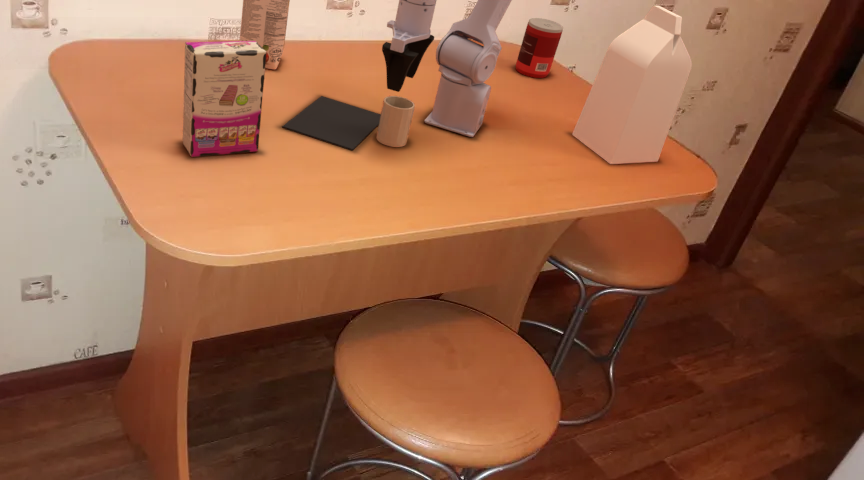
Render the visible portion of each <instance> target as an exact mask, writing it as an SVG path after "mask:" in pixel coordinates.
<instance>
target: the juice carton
mask: <svg viewBox="0 0 864 480" xmlns="http://www.w3.org/2000/svg"><path fill="white" fill-rule="evenodd" d="M290 1H291V0H242V10H241V21H240V34H239V41H256V42H257V43H258V44H259V45H260V46H261V47H262V48H263V49H264V50H265V51H266V64H265V69H269V70H277V69H278V66H279V65H280V62H281V59H282V57H283V53H284V51H285V50H284V49H285V45H286V44H285V43H286V35H287V28H288V27H287V26H288V19H289V10H290Z"/></svg>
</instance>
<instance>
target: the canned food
mask: <svg viewBox="0 0 864 480" xmlns="http://www.w3.org/2000/svg"><path fill="white" fill-rule="evenodd" d="M563 32H564V27H563V25H561V24H560V23H558V22H556V21H554V20H551V19H547V18H542V17H541V18H540V17H533V18H532V17H531V18H530V19H528V21H527V24H526V28H525V31H524V35H523V38H522V41H521V45H520V48H519V52H518V55H517V59H516V62H515V70H516V71H517V72H518V73H520V74H521V75H523V76H526V77H529V78H535V79H544V78H546V77H548V75H549V74H550V71H551V68H552V65H553V62H554V59H555V57H556V54H557V50H558V47H559V44H560V42H561V37H562V35H563Z"/></svg>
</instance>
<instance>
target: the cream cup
mask: <svg viewBox="0 0 864 480" xmlns="http://www.w3.org/2000/svg"><path fill="white" fill-rule="evenodd" d="M381 105H382V106H381V111H380V114H381V115H380V120H379V125H378V126H377V132H376V137H375V138H376V140H377V141H378V142H379V143H380V144H382V145H385V146H387V147H390V148H400V147H404V146H406V145H407V142H408V139H409V134H410V131H411V125H412V121H413V116H414V113H415V108H416V105H415V102H413V101H412V99H411V100H410V99H408V98H407V97H403V96H400V95H399V96H397V95H389V96H385V97H384V98H383V101H382V104H381Z"/></svg>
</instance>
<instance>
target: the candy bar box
mask: <svg viewBox="0 0 864 480" xmlns="http://www.w3.org/2000/svg"><path fill="white" fill-rule="evenodd" d="M265 64H266V51H265V50H264V49H263V48H262V47H261V46H260V45H259V44H258V43H257V42H256V41H240V40H224V41H185V43H184V71H183V72H184V73H183V75H184V76H183V110H182V111H183V112H182V145H183V147H184V148H185V150H186V151H187V153H188V155H190V157H191V158H198V157H199V158H200V157H210V156H222V155H232V154H233V155H234V154H244V153H245V154H246V153H255V152H258V151H259V142H260V132H261V119H262V107H263V97H264V85H265V73H266V68H265Z"/></svg>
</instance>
